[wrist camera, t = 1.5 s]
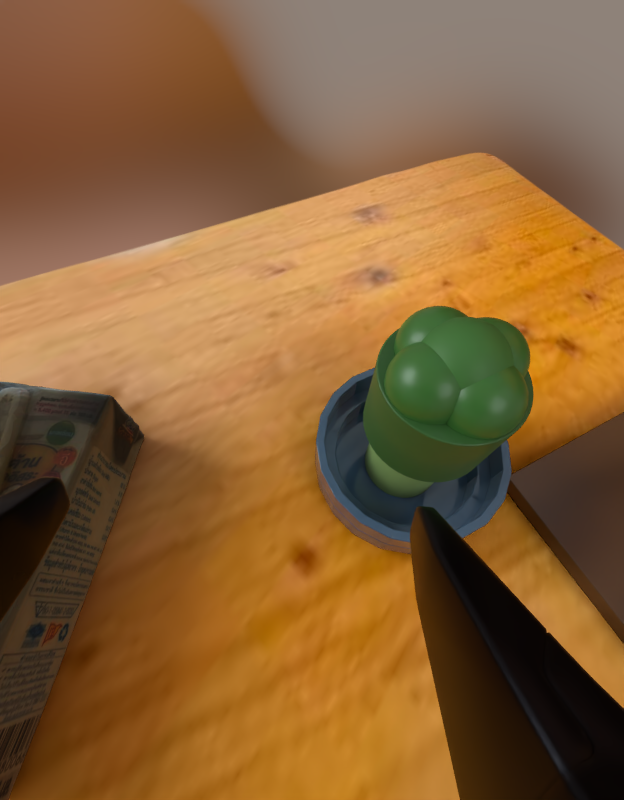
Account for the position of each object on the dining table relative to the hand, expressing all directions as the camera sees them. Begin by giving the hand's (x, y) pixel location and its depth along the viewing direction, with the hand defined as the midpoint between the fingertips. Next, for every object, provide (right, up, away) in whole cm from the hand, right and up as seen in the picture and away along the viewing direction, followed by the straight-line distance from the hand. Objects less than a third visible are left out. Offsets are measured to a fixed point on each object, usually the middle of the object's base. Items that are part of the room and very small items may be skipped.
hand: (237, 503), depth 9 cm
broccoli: (+8, -2, +16) cm, 18 cm away
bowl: (+8, -2, +16) cm, 18 cm away
